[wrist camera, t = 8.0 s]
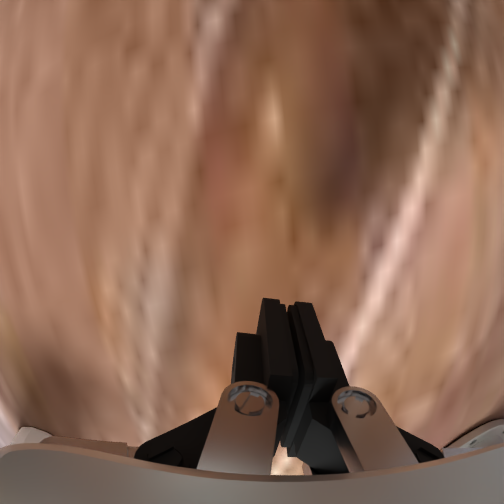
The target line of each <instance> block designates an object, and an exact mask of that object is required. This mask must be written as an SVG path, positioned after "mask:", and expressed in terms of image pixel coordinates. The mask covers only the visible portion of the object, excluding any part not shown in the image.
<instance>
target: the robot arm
mask: <svg viewBox="0 0 504 504" xmlns="http://www.w3.org/2000/svg"><path fill="white" fill-rule="evenodd" d="M279 442H280V443H281V447H287V456H288V457H297V458H299V459H300V460H302V461H303V465H302V468H303V473H304V475H270V474H271V467H272V459H273V457H274V456H275V453H276V450H277V447H278V444H279ZM0 504H504V419H498V420H494V421H491V422H488V423H486V424H484V425H482V426H480V427H478V428H476V429H475V430H473V431H471V432H469V433H468V434H466V435H465V436H463V437H461V438H460V439H458V440H457V441H455V442H454V443H452V444H451V445H450V446H448V447H447V448H442V449H441V450H439V449H438V448H436V447H435V446H433V445H432V444H430V443H428V442H426V441H424V440H422V439H420V438H418V437H416V436H414V435H412V434H410V433H408V432H406V431H404V430H402V429H401V428H399V427H397V426H396V425H395V424H394V422H393V421H392V419H391V418H390V416H389V414H388V413H387V411H386V410H385V408H384V407H383V405H382V403H381V402H380V400H379V399H378V398H377V397H376V396H375V395H374V394H373V393H371V392H370V391H368V390H365V389H363V388H359V387H351V386H349V384H348V381H347V378H346V376H345V373H344V370H343V368H342V365H341V362H340V360H339V357H338V354H337V352H336V349H335V346H334V344H333V342H332V341H326V340H325V338H324V335H323V333H322V330H321V327H320V324H319V321H318V319H317V316H316V313H315V310H314V308H313V305H312V303H306V302H295V303H294V305H289V306H288V310H287V312H286V307H285V304H280V301H279V300H278V299H269V298H263V299H262V304H261V310H260V315H259V321H258V327H257V332H256V334H248V333H240V332H237V336H236V342H235V349H234V357H233V365H232V377H231V384H230V385H229V386H228V387H226V388H225V389H224V391H223V393H222V395H221V398H220V401H219V404H218V407H217V408H215V409H213V410H211V411H209V412H207V413H205V414H203V415H201V416H199V417H197V418H195V419H193V420H191V421H189V422H187V423H185V424H183V425H181V426H179V427H177V428H175V429H173V430H171V431H168V432H166V433H164V434H162V435H160V436H158V437H155V438H153V439H151V440H149V441H147V442H145V443H144V444H142V445H141V446H140V447H129V446H128V445H127V443H123V442H108V441H96V440H87V439H78V438H70V437H63V436H51V437H48V438H45V439H43V440H42V441H41V442H39V443H21V444H13V445H9V446H5V447H2V448H0Z"/></svg>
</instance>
